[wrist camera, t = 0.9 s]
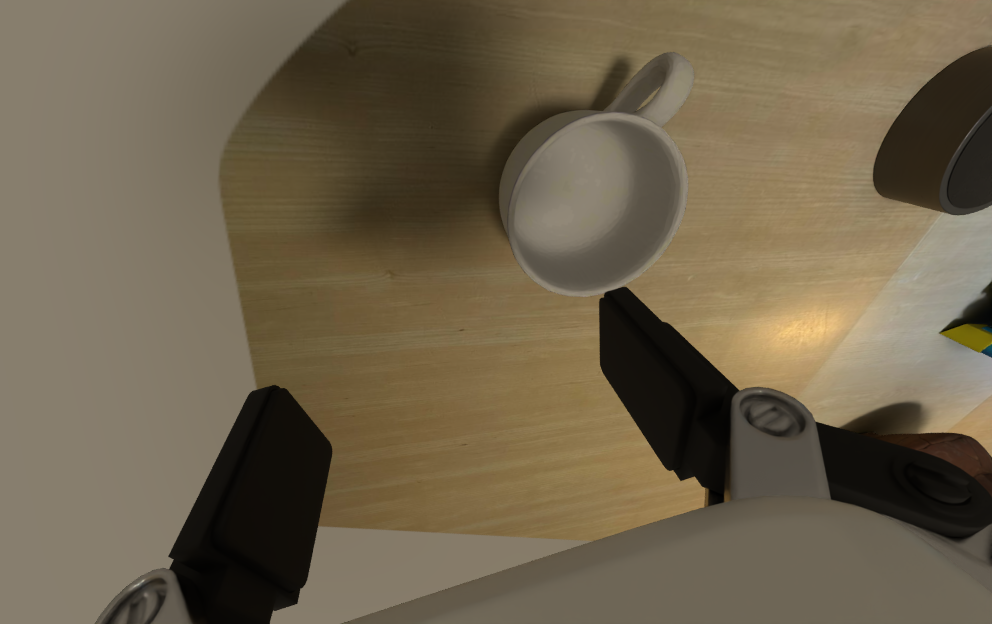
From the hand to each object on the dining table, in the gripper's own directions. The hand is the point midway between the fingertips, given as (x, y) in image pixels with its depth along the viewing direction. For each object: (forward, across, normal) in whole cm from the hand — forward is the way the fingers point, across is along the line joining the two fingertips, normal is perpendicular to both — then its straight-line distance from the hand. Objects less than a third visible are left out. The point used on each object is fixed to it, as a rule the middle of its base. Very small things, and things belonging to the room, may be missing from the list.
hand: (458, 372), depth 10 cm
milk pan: (+18, -49, +8) cm, 53 cm away
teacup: (+18, -11, 0) cm, 21 cm away
